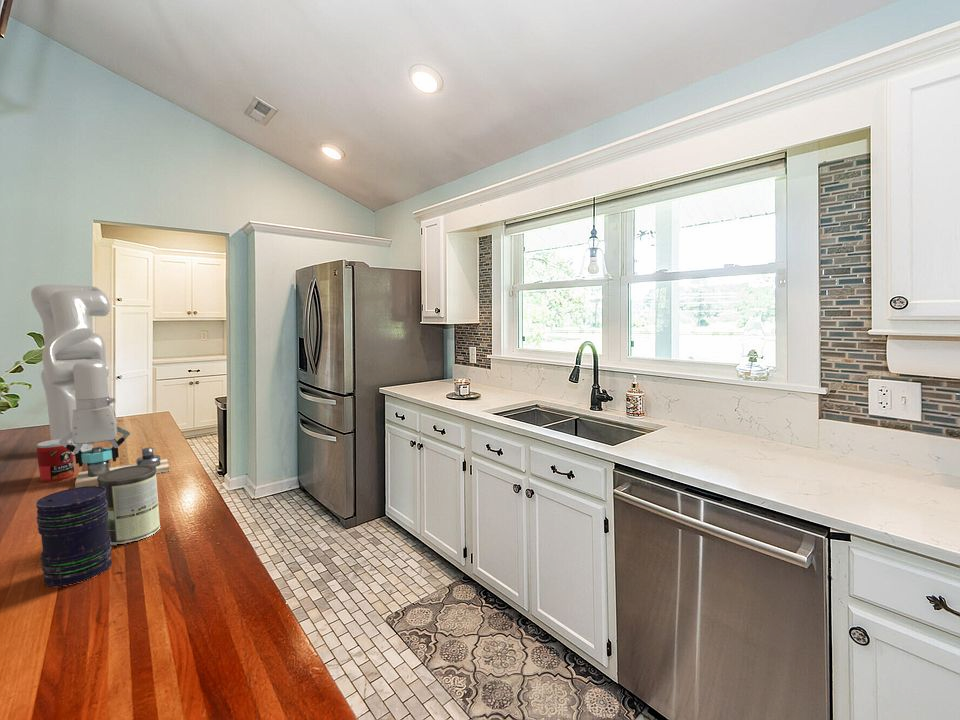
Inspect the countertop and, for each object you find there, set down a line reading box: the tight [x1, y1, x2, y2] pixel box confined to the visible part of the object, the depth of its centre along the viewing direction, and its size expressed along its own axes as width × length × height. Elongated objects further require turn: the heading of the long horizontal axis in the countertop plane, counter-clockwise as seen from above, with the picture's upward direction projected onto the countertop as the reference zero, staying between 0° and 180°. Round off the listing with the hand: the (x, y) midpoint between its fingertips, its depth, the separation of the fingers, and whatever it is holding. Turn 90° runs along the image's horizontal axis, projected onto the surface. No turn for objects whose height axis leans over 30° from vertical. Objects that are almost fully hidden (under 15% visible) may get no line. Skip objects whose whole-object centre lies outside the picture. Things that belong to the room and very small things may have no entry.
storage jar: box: [35, 485, 113, 587], centre depth 86 cm, size 10×10×15 cm
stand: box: [86, 446, 111, 477], centre depth 136 cm, size 5×5×8 cm
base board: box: [74, 458, 170, 488], centre depth 140 cm, size 11×22×2 cm, turn 127°
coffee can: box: [97, 465, 161, 546], centre depth 101 cm, size 10×10×14 cm
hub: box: [135, 447, 161, 467], centre depth 143 cm, size 6×6×6 cm
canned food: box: [36, 439, 75, 483], centre depth 137 cm, size 8×8×11 cm
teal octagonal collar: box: [81, 447, 113, 464], centre depth 136 cm, size 7×7×2 cm
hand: (98, 462), depth 136 cm, fingers closed on teal octagonal collar, 7 cm apart
